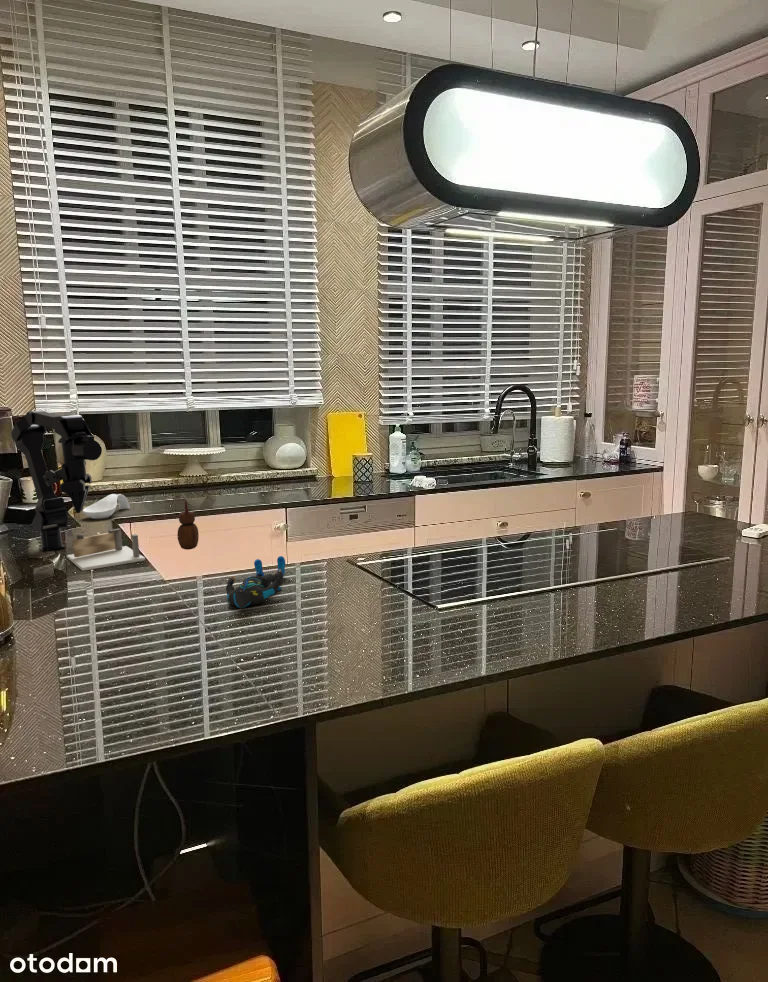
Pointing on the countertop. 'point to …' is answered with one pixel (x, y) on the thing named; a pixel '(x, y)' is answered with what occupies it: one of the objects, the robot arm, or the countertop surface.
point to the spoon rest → (106, 506)
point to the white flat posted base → (110, 555)
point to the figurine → (256, 586)
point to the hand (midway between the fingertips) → (79, 511)
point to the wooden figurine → (187, 530)
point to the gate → (94, 543)
